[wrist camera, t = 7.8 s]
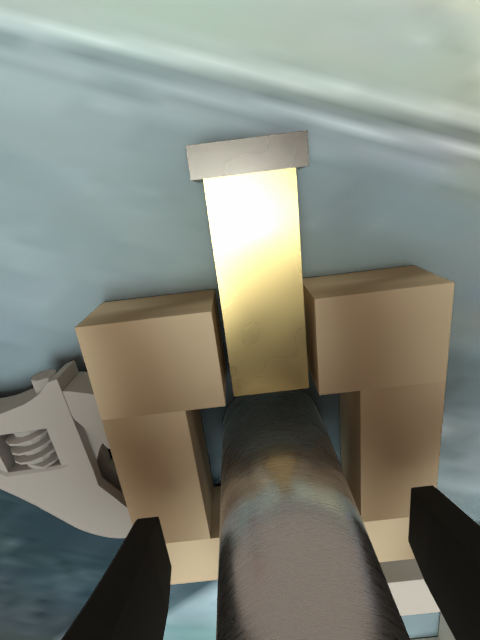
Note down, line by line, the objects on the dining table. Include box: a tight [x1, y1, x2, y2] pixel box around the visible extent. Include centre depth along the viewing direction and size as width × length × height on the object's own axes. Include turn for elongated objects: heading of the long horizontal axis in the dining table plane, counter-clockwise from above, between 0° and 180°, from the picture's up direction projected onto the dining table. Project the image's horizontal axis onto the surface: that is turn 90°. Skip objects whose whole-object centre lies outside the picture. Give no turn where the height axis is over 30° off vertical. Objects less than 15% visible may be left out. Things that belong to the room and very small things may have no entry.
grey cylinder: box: [216, 389, 410, 640], centre depth 11 cm, size 4×4×9 cm
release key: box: [186, 130, 309, 397], centre depth 11 cm, size 3×7×2 cm, turn 7°
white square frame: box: [379, 559, 455, 640], centre depth 18 cm, size 10×10×2 cm
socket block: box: [75, 265, 455, 585], centre depth 13 cm, size 11×11×2 cm
